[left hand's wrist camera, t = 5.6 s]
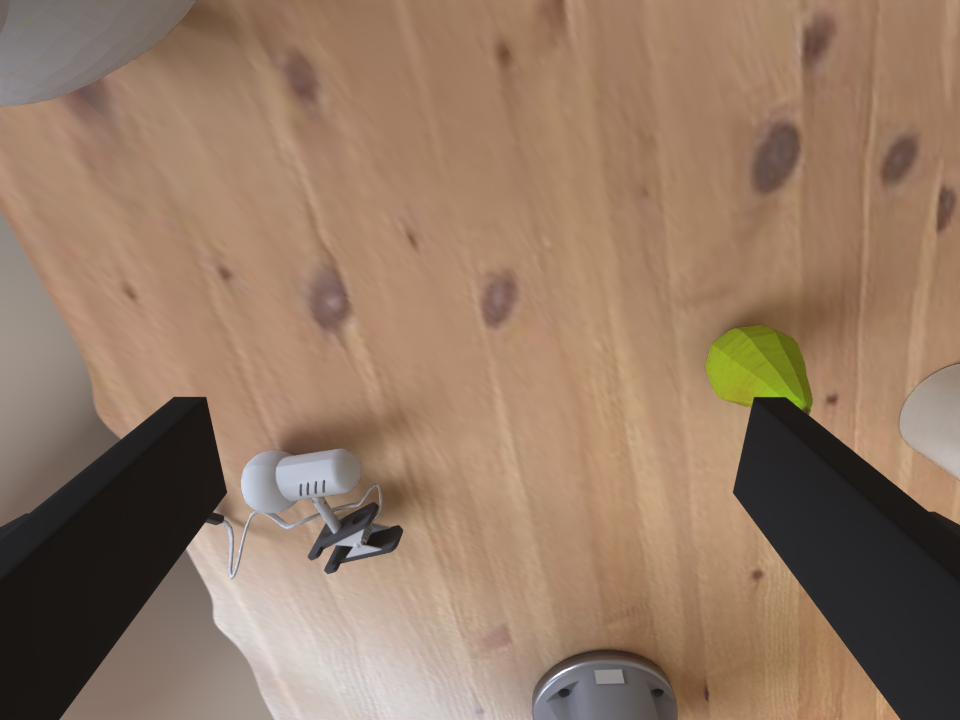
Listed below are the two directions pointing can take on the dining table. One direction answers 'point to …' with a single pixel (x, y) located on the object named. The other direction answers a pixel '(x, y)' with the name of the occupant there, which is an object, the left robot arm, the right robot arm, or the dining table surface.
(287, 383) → the dining table surface
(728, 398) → the fruit
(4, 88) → the table lamp
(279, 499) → the clip-on lamp
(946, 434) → the jar
